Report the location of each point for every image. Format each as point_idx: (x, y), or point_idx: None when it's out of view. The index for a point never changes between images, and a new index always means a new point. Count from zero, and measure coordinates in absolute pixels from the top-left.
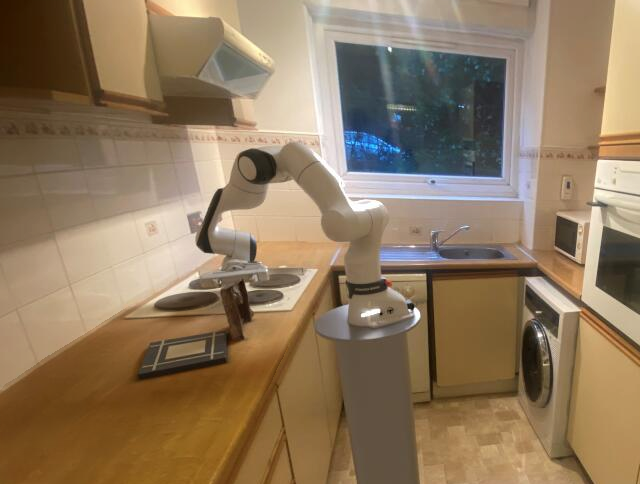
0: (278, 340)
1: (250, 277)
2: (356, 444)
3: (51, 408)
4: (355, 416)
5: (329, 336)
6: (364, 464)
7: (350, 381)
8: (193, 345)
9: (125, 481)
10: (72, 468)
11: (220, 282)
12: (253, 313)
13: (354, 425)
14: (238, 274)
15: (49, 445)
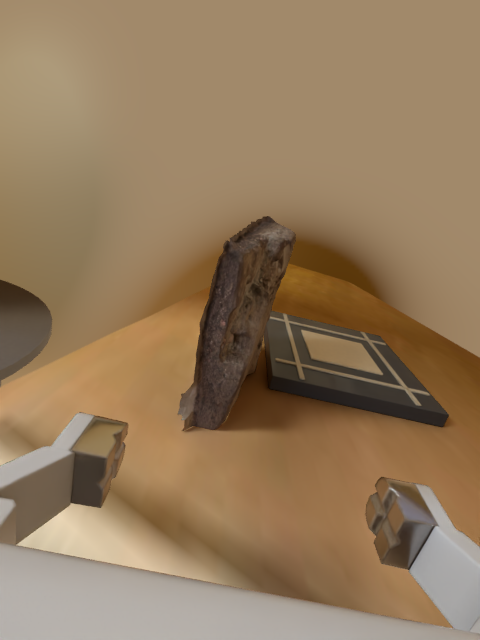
0: (166, 318)
1: (88, 453)
2: None
3: (444, 349)
4: None
5: (48, 315)
6: None
7: None
8: (330, 353)
9: (311, 277)
10: (351, 294)
11: (390, 480)
12: (181, 402)
13: None
14: (210, 583)
15: (389, 313)
